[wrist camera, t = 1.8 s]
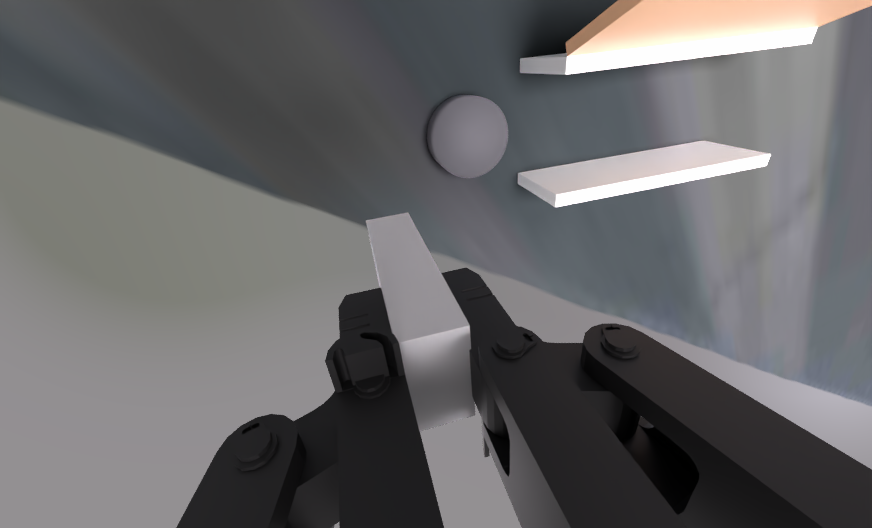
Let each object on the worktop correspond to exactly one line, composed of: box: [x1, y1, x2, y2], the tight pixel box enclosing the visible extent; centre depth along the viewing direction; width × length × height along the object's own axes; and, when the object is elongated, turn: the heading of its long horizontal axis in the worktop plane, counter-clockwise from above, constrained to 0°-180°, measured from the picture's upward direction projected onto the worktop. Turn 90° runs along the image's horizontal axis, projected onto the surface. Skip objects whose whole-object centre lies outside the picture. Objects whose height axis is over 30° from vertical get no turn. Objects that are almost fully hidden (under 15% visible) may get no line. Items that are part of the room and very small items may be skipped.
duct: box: [518, 27, 817, 207], centre depth 29 cm, size 10×20×6 cm, turn 96°
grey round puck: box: [427, 94, 508, 178], centre depth 29 cm, size 6×6×2 cm
